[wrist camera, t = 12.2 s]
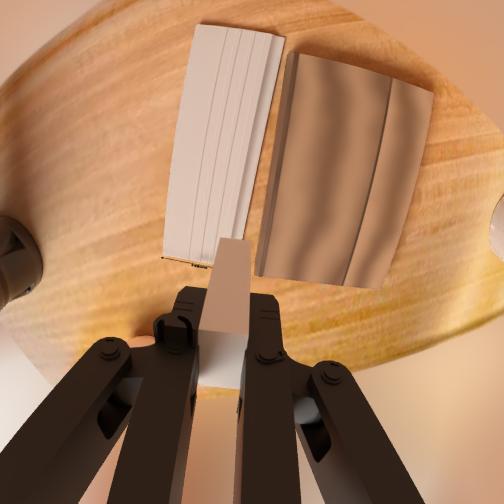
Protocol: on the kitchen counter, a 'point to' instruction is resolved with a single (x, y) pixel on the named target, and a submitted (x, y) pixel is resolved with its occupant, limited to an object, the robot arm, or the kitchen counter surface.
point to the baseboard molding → (218, 138)
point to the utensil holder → (498, 230)
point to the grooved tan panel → (340, 173)
